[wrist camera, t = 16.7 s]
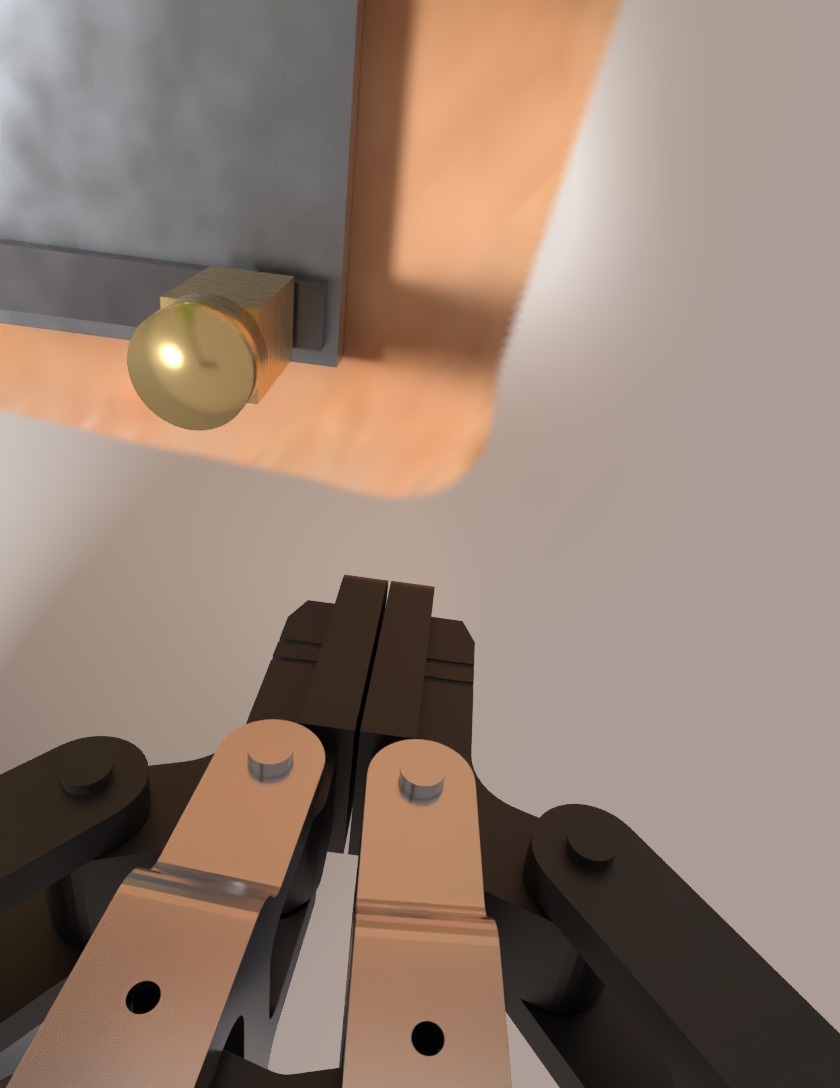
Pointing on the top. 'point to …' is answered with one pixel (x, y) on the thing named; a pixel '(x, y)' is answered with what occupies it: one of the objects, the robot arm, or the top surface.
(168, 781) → the robot arm
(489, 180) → the top surface
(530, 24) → the top surface
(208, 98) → the plate
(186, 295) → the press lever
